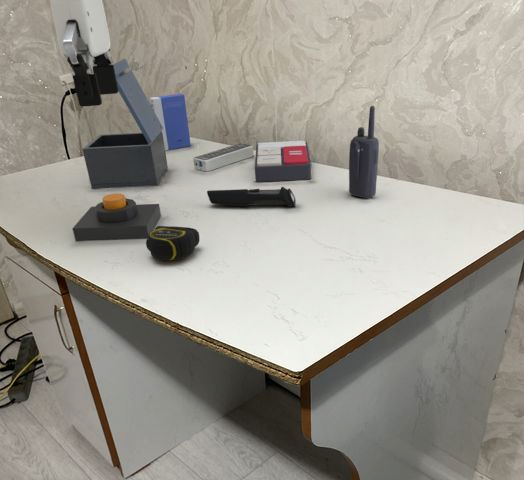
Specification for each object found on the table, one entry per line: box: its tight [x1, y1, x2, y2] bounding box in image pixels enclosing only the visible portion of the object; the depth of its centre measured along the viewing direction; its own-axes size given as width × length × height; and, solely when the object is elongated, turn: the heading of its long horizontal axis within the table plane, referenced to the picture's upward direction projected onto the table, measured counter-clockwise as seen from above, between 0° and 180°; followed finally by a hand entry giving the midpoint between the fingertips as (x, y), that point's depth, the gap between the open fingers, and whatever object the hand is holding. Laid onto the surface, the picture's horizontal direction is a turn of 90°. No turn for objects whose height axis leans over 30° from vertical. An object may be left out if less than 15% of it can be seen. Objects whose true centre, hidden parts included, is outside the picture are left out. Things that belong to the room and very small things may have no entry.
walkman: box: [149, 92, 192, 152], centre depth 129 cm, size 8×3×12 cm, turn 117°
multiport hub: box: [192, 142, 254, 173], centre depth 118 cm, size 4×14×2 cm, turn 136°
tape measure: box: [145, 225, 200, 261], centre depth 78 cm, size 7×7×4 cm
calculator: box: [254, 140, 312, 183], centre depth 111 cm, size 11×4×15 cm
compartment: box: [81, 132, 169, 189], centre depth 111 cm, size 14×12×8 cm
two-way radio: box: [348, 105, 380, 199], centre depth 92 cm, size 6×4×15 cm
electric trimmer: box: [206, 186, 297, 208], centre depth 94 cm, size 4×16×3 cm, turn 83°
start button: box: [101, 192, 127, 210], centre depth 87 cm, size 4×4×2 cm
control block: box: [72, 197, 162, 242], centre depth 89 cm, size 12×10×4 cm
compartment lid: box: [112, 57, 163, 144], centre depth 104 cm, size 14×12×5 cm
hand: (100, 99), depth 81 cm, fingers open, 9 cm apart
